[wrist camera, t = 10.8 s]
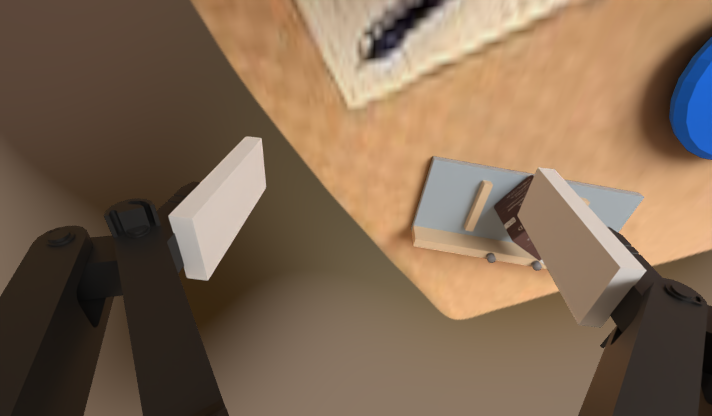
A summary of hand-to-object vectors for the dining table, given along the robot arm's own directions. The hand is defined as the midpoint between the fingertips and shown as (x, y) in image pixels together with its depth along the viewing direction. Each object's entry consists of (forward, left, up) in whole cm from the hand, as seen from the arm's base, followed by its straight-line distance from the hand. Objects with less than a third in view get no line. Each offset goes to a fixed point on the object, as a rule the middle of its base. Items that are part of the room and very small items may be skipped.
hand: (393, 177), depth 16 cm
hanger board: (+13, +20, -23) cm, 33 cm away
